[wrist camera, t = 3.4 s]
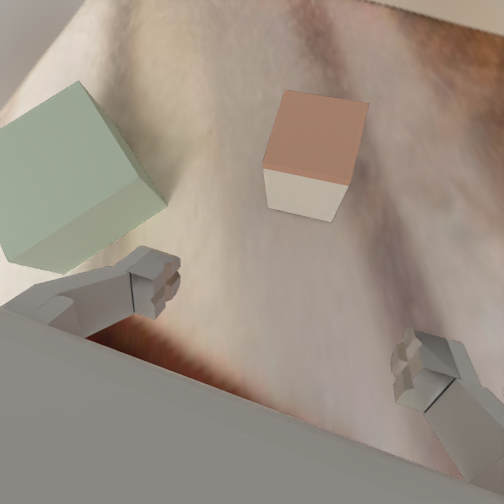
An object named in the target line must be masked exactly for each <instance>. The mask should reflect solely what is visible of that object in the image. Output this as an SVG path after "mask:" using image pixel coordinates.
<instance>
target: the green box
mask: <svg viewBox="0 0 504 504" xmlns="http://www.w3.org/2000/svg"><path fill="white" fill-rule="evenodd" d="M166 207H167V204H166V203H165V201H164V200H163V198H162V197H161V195H160V193H159V192H158V190H157V189H156V187H155V186H154V184H153V183H152V181H151V179H150V178H149V176H148V175H147V173H146V172H145V170H144V169H143V167H142V165H141V164H140V162H139V161H138V159H137V158H136V156H135V155H134V153H133V151H132V150H131V148H130V147H129V145H128V144H127V142H126V140H125V139H124V137H123V136H122V134H121V133H120V131H119V130H118V128H117V126H116V125H115V124H114V122H113V121H112V120H111V119H110V118H109V116H108V115H107V114H106V113H105V112H104V110H103V109H102V108H101V107H100V106H99V104H98V103H97V102H96V101H95V100H94V99H93V97H92V96H91V95H90V94H89V93H88V91H87V90H86V89H85V88H84V87H83V85H82V84H81V83H80V82H79V81H77V82H75V83H74V84H72V85H70V86H69V87H67V88H66V89H64V90H62V91H61V92H59V93H58V94H56V95H54V96H53V97H51V98H49V99H48V100H46V101H45V102H43V103H41V104H40V105H38V106H37V107H35V108H33V109H32V110H30V111H29V112H27V113H25V114H24V115H22V116H20V117H19V118H17V119H16V120H14V121H12V122H11V123H9V124H8V125H6V126H4V127H3V128H1V129H0V244H1V247H2V249H3V251H4V254H5V256H6V258H7V261H8V262H10V263H15V264H19V265H23V266H28V267H32V268H37V269H41V270H46V271H50V272H54V273H59V274H63V275H64V274H65V273H67V272H69V271H70V270H72V269H73V268H75V267H76V266H78V265H79V264H81V263H82V262H84V261H85V260H87V259H88V258H90V257H91V256H93V255H94V254H96V253H97V252H99V251H100V250H102V249H103V248H105V247H106V246H108V245H110V244H111V243H113V242H114V241H116V240H117V239H119V238H120V237H122V236H123V235H125V234H126V233H128V232H129V231H131V230H132V229H134V228H135V227H137V226H138V225H140V224H141V223H143V222H144V221H146V220H147V219H149V218H150V217H152V216H154V215H155V214H157V213H158V212H160V211H161V210H163V209H164V208H166Z"/></svg>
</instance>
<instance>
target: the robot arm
mask: <svg viewBox="0 0 504 504" xmlns="http://www.w3.org/2000/svg"><path fill="white" fill-rule="evenodd" d="M180 267H181V265H180V258H179V257H177V256H174V255H171V254H168V253H165V252H162V251H159V250H156V249H152V248H149V247H146V246H139V247H138V248H136V249H135V250H134V251H133V252H131V253H130V254H129V255H127V256H126V257H125V258H124V259H122V260H121V261H120V262H118V263H117V264H116V265H115V266H113V267H110V266H107V267H103V268H99V269H95V270H91V271H87V272H83V273H79V274H75V275H71V276H67V277H63V278H59V279H55V280H51V281H47V282H43V283H39V284H35V285H33V286H32V287H30V288H29V289H27V290H26V291H24V292H23V293H21V294H20V295H18V296H16V297H15V298H13V299H12V300H10V301H9V302H7V303H6V304H4V305H3V306H1V307H0V504H504V404H503V403H502V402H501V401H500V400H499V399H498V398H497V397H496V396H495V395H494V394H493V393H492V392H490V391H489V390H488V389H487V388H484V387H482V386H481V384H480V381H479V379H478V377H477V374H476V372H475V370H474V367H473V365H472V363H471V360H470V358H469V356H468V353H467V351H466V349H465V346H464V345H463V344H462V343H461V342H460V341H456V340H453V339H449V338H446V337H441V336H437V335H434V334H431V333H427V332H424V331H420V330H417V329H414V328H410V327H409V328H408V329H407V330H406V331H405V333H404V334H403V339H404V342H401V343H399V344H397V345H396V347H395V348H394V350H393V353H392V356H391V365H390V366H391V372H392V374H393V375H394V376H395V378H396V380H395V382H394V383H393V388H394V395H395V402H396V403H397V404H400V405H402V406H405V407H408V408H410V409H413V410H416V411H418V412H421V413H424V416H425V418H426V419H427V421H428V422H429V424H430V425H431V427H432V429H433V430H434V432H435V433H436V435H437V436H438V438H439V440H440V441H441V443H442V444H443V446H444V447H445V449H446V451H447V452H448V454H449V455H450V457H451V458H452V460H453V461H454V463H455V465H456V466H457V468H458V469H459V471H460V472H461V474H462V476H463V477H464V479H465V480H466V482H465V481H462V480H460V479H457V478H454V477H452V476H449V475H446V474H444V473H441V472H438V471H436V470H433V469H430V468H428V467H425V466H422V465H420V464H417V463H414V462H412V461H409V460H406V459H404V458H401V457H398V456H396V455H393V454H390V453H388V452H385V451H382V450H380V449H377V448H374V447H372V446H369V445H366V444H364V443H361V442H358V441H356V440H353V439H350V438H348V437H345V436H342V435H340V434H337V433H334V432H332V431H329V430H326V429H324V428H321V427H318V426H316V425H313V424H310V423H308V422H305V421H302V420H300V419H297V418H294V417H292V416H289V415H286V414H284V413H281V412H278V411H276V410H273V409H271V408H268V407H265V406H263V405H260V404H257V403H255V402H252V401H249V400H247V399H244V398H241V397H239V396H236V395H233V394H231V393H228V392H225V391H223V390H220V389H217V388H215V387H212V386H209V385H207V384H204V383H201V382H199V381H196V380H193V379H191V378H188V377H185V376H183V375H180V374H177V373H175V372H172V371H169V370H167V369H164V368H161V367H159V366H156V365H153V364H151V363H148V362H145V361H143V360H140V359H137V358H135V357H132V356H129V355H127V354H124V353H122V352H119V351H116V350H114V349H111V348H108V347H106V346H103V345H100V344H98V343H95V342H92V341H90V340H87V339H84V338H86V337H88V336H90V335H92V334H94V333H96V332H98V331H100V330H102V329H104V328H106V327H108V326H110V325H112V324H114V323H116V322H118V321H120V320H122V319H125V318H127V317H129V316H131V315H133V314H134V313H136V314H139V315H142V316H146V317H149V318H152V319H156V318H157V317H158V316H159V314H160V313H161V312H162V311H163V310H164V308H165V302H166V301H169V300H172V299H173V297H174V296H175V295H176V293H177V291H178V288H179V285H180V275H179V273H178V271H177V270H178V269H179V268H180Z"/></svg>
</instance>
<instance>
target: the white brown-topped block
mask: <svg viewBox="0 0 504 504" xmlns="http://www.w3.org/2000/svg"><path fill="white" fill-rule="evenodd" d="M368 107H369V103H364V102H358V101H352V100H345V99H339V98H333V97H327V96H320V95H314V94H308V93H302V92H295V91H289V90H285V91H284V94H283V97H282V100H281V104H280V107H279V110H278V113H277V117H276V120H275V123H274V126H273V130H272V133H271V136H270V139H269V143H268V146H267V149H266V152H265V156H264V159H263V171H264V179H265V187H266V195H267V204H268V208H271V209H275V210H280V211H284V212H288V213H293V214H297V215H301V216H306V217H310V218H314V219H319V220H323V221H327V222H332V220H333V218H334V216H335V214H336V211H337V209H338V207H339V205H340V203H341V201H342V199H343V197H344V195H345V193H346V191H347V189H348V187H349V184H350V182H351V180H352V176H353V172H354V167H355V163H356V159H357V154H358V150H359V146H360V141H361V137H362V133H363V128H364V124H365V120H366V116H367V111H368Z"/></svg>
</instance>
